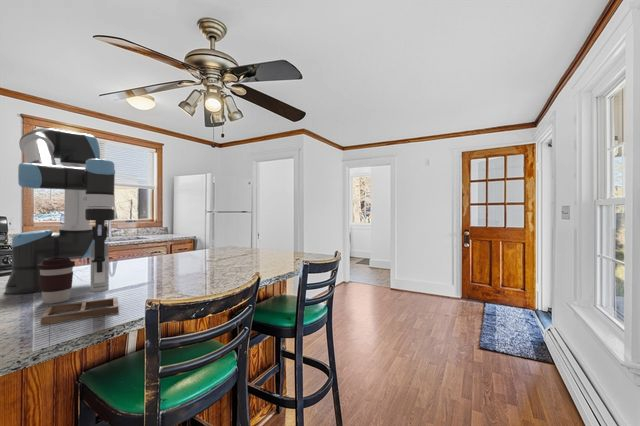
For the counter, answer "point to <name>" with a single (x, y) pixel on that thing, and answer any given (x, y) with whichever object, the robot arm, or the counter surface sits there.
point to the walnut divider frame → (83, 313)
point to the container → (105, 285)
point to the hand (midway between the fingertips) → (99, 280)
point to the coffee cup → (56, 279)
